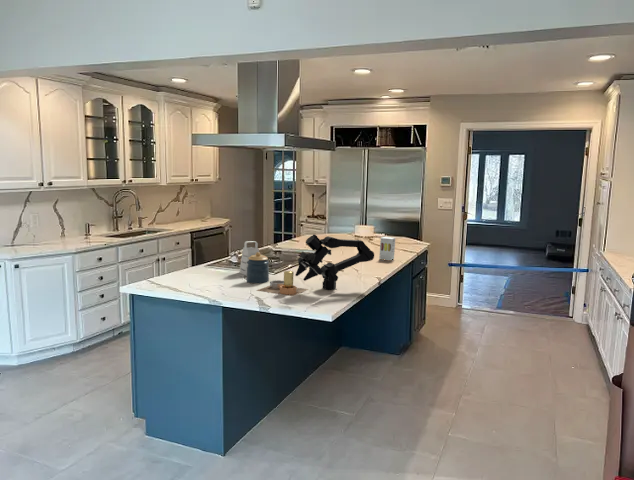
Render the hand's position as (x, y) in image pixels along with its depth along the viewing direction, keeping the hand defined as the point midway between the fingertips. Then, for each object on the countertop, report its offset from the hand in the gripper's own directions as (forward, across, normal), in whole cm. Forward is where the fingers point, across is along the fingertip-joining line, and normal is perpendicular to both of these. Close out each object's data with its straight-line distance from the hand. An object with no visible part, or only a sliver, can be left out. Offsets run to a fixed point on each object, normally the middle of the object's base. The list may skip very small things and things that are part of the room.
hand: (299, 278), depth 273 cm
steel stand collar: (+10, -11, 0) cm, 15 cm away
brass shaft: (+10, +1, 0) cm, 10 cm away
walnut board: (+11, -5, 0) cm, 12 cm away
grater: (+12, -55, +4) cm, 57 cm away
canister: (+15, -30, -1) cm, 34 cm away
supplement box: (-64, -67, +90) cm, 129 cm away
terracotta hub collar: (+10, +1, 0) cm, 10 cm away
